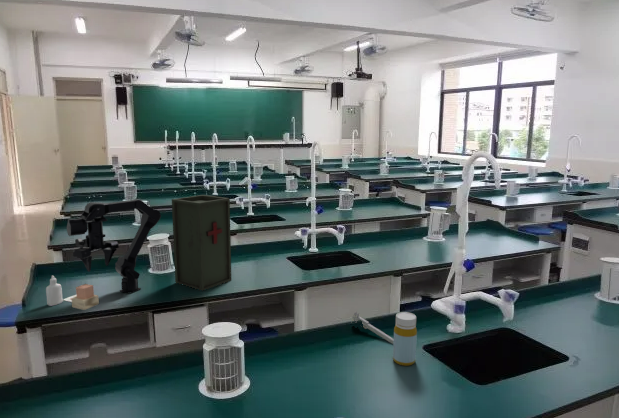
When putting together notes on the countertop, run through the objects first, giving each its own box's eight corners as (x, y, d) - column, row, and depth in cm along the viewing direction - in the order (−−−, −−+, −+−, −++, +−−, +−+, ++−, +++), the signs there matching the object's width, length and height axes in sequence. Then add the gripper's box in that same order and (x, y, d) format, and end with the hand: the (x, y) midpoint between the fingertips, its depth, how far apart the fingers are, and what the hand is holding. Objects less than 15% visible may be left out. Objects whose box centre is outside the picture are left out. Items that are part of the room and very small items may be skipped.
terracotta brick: (94, 295, 188) (93, 285, 187) (84, 299, 184) (83, 288, 183) (86, 294, 190) (85, 283, 189) (76, 297, 186) (75, 287, 185)
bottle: (401, 368, 139) (403, 322, 137) (388, 358, 146) (390, 313, 143) (419, 363, 142) (422, 318, 140) (406, 354, 148) (408, 310, 146)
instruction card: (78, 294, 200) (78, 293, 200) (88, 296, 198) (88, 295, 198) (62, 300, 193) (62, 299, 193) (72, 302, 191) (72, 301, 191)
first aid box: (205, 273, 230) (202, 194, 224) (231, 280, 220) (229, 198, 213) (175, 283, 216) (171, 199, 209) (202, 291, 205) (199, 203, 198)
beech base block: (86, 302, 192) (86, 292, 191) (99, 304, 189) (98, 295, 189) (72, 307, 186) (71, 298, 185) (84, 310, 183) (83, 301, 182)
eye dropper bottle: (47, 303, 190) (44, 275, 188) (62, 300, 192) (60, 273, 190) (47, 306, 186) (44, 278, 184) (63, 304, 189) (60, 276, 187)
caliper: (351, 327, 169) (351, 311, 168) (353, 326, 170) (353, 310, 169) (396, 346, 154) (397, 328, 153) (398, 345, 155) (399, 327, 154)
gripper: (100, 226, 203) (102, 260, 206) (62, 235, 186) (65, 271, 189) (118, 229, 199) (120, 263, 201) (81, 237, 182) (84, 275, 185)
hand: (98, 268), depth 194 cm, fingers open, 9 cm apart
